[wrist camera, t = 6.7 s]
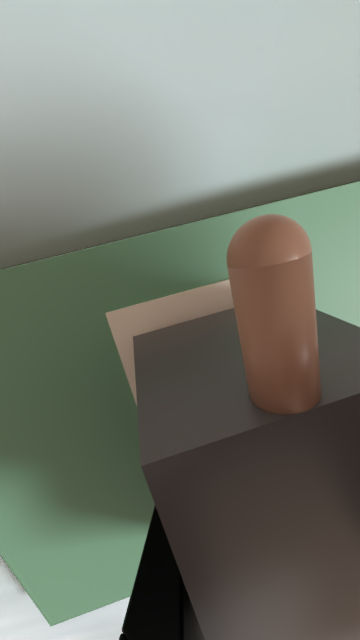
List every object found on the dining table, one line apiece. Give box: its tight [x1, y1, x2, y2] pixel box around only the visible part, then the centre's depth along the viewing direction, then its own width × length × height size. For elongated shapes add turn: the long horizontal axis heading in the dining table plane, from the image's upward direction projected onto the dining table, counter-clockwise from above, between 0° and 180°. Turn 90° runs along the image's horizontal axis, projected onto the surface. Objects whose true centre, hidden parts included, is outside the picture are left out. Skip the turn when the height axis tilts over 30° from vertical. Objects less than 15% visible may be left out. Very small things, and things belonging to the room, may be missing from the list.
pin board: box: [0, 181, 360, 626], centre depth 9 cm, size 18×14×4 cm
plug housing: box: [133, 214, 360, 640], centre depth 7 cm, size 4×12×4 cm, turn 13°
